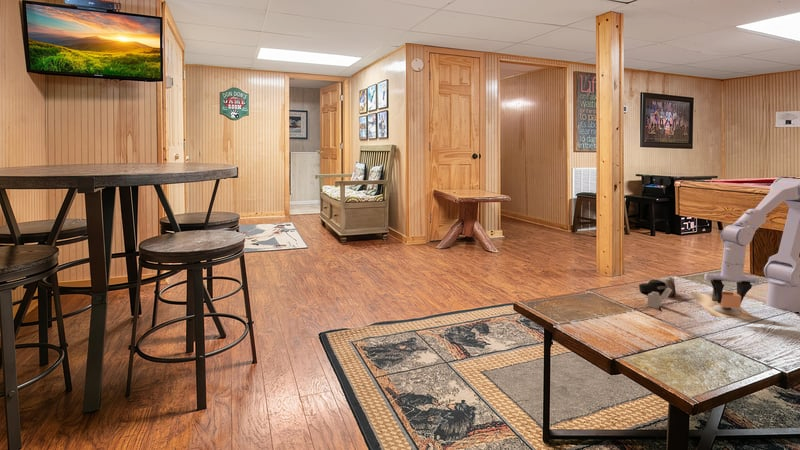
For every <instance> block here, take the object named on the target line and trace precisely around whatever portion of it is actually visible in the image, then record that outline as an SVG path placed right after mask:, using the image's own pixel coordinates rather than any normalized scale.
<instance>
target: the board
mask: <svg viewBox="0 0 800 450" xmlns="http://www.w3.org/2000/svg"><path fill="white" fill-rule="evenodd" d="M689 295H690V296H691V297H693V299H695V301H697V303H699V304H700V305H701V306H702V307H703V309H705V311H707V312H708V314H710V315H711V316H712V317H718V318H719V317H720V318H729V319H730V318H731V319H742V320H743V319H744V320H752V321H753V320H754V321H757V320H758V319H757V318H755V316H753V315H752V314H750V313H749V312H748V311H747V310H746V309H744V308H743V307H742V306H740V308H727V307H721V306H720V305H719V304H718V303H717V302H716V296H715V292H714V288H713V287H712V293H711V294H707V293H692V292H689Z"/></svg>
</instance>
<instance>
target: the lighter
mask: <svg viewBox="0 0 800 450" xmlns="http://www.w3.org/2000/svg"><path fill="white" fill-rule="evenodd" d="M671 291H672V289H670V288H666V289H665V290H664V292H663V293H661V294H660V293H658V292H649V293H648V294H647V307H649V308H653V309H656V310H661V306H662V304H663V301H665V300H667V299H668V297H670V296H669V294H670V293H671Z"/></svg>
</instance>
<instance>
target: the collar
mask: <svg viewBox="0 0 800 450" xmlns="http://www.w3.org/2000/svg"><path fill="white" fill-rule="evenodd" d="M717 303H718V302H717ZM718 304H719V305H720V306H721V307H727V308H740V307H741V305H742V302H741V296H740V295H739V294H737V291H728V290H723V291H722V298H721V303H718ZM740 304H741V305H740Z"/></svg>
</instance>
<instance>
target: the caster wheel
mask: <svg viewBox="0 0 800 450" xmlns="http://www.w3.org/2000/svg"><path fill="white" fill-rule="evenodd" d="M638 287H639V292H641V293H652V292H657V293H659V294H662V293H663V292H664V290H665V289H666V288H670V289H672V291H671V293H670V294H669V296H668V297H672V296H673V297H674V298H677V297H678V296H677V290H676V285H675V278H674V277H671V276H667V278H658V279H651V280H649V281H647V282H645V283H639V285H638Z"/></svg>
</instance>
